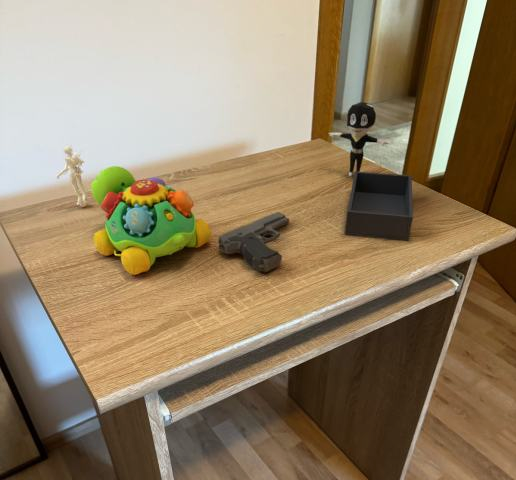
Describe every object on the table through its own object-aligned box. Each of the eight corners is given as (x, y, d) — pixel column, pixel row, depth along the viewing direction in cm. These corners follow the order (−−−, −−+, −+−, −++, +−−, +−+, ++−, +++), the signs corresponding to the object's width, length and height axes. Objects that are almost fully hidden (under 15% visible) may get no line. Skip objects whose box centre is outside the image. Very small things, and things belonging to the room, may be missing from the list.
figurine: (61, 205, 98) (43, 145, 90) (90, 198, 101) (75, 138, 93) (69, 215, 95) (51, 153, 87) (99, 207, 97) (84, 146, 89)
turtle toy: (148, 207, 97) (137, 147, 89) (225, 249, 85) (220, 184, 77) (70, 237, 88) (51, 174, 81) (143, 289, 76) (129, 219, 68)
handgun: (327, 229, 85) (276, 206, 91) (263, 260, 75) (211, 233, 82) (325, 245, 87) (275, 222, 93) (262, 278, 77) (211, 250, 84)
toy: (320, 175, 108) (325, 102, 98) (330, 165, 112) (336, 94, 102) (379, 186, 103) (391, 110, 94) (387, 175, 108) (399, 102, 98)
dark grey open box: (407, 196, 99) (411, 175, 96) (408, 240, 86) (413, 217, 83) (352, 192, 101) (354, 171, 98) (344, 234, 88) (347, 211, 85)
